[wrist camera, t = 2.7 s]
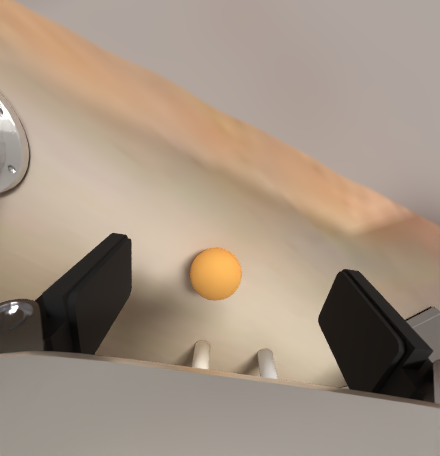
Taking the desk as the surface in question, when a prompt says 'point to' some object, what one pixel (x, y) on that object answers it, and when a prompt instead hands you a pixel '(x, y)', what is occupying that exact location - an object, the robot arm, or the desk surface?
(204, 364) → the cream pin
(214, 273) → the ball
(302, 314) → the desk surface
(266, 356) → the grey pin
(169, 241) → the desk surface
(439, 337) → the grey block
